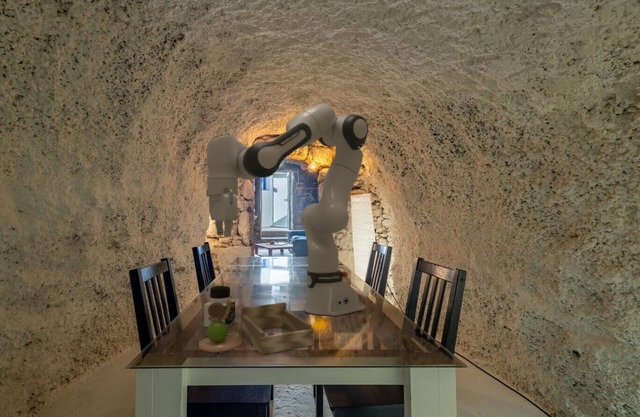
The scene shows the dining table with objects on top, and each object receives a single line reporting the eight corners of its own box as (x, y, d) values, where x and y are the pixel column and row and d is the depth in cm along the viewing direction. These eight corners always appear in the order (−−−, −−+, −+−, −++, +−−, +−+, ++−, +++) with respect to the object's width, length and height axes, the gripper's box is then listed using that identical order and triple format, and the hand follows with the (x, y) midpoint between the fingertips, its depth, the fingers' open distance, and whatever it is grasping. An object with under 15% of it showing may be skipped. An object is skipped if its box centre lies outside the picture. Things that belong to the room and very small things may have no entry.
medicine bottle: (225, 328, 108) (225, 288, 108) (203, 327, 109) (204, 288, 109) (235, 321, 115) (235, 284, 115) (215, 320, 116) (215, 283, 116)
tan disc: (236, 335, 102) (236, 332, 102) (246, 347, 92) (246, 344, 92) (196, 341, 97) (196, 338, 97) (202, 355, 87) (202, 351, 87)
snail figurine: (230, 344, 91) (230, 298, 92) (204, 345, 91) (204, 298, 91) (233, 337, 97) (233, 293, 97) (209, 338, 96) (209, 294, 97)
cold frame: (285, 324, 111) (285, 302, 111) (313, 345, 93) (313, 318, 94) (240, 331, 105) (240, 307, 105) (262, 354, 87) (262, 326, 87)
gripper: (243, 187, 98) (244, 237, 97) (225, 191, 116) (226, 234, 115) (219, 186, 95) (221, 238, 94) (205, 191, 113) (206, 235, 112)
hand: (223, 236), depth 105 cm, fingers open, 8 cm apart
